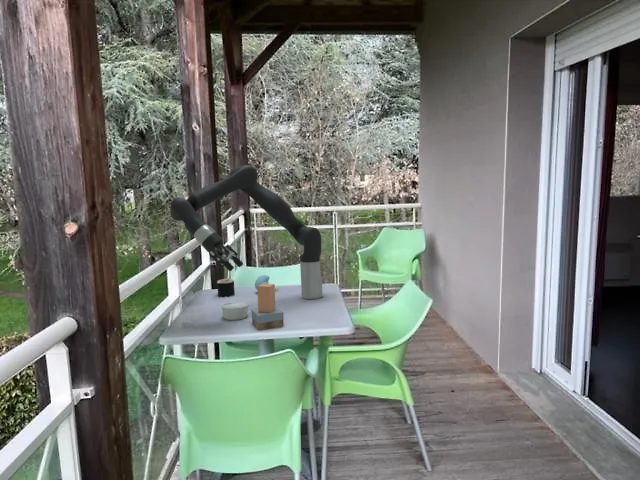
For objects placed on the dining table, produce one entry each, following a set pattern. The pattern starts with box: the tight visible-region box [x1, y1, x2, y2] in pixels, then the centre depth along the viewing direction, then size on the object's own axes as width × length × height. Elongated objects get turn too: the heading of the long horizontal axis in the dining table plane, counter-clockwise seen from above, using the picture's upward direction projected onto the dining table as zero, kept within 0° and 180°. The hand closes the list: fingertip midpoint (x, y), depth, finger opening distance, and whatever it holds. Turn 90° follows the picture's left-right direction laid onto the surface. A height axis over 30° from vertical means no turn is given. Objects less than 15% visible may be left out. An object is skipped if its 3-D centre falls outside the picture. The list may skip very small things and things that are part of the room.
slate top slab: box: [251, 305, 285, 323], centre depth 193 cm, size 10×10×3 cm
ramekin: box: [221, 301, 249, 321], centre depth 206 cm, size 11×11×5 cm
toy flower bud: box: [254, 274, 280, 292], centre depth 249 cm, size 7×9×12 cm
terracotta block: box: [256, 283, 276, 312], centre depth 193 cm, size 5×5×10 cm
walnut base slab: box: [251, 317, 285, 331], centre depth 194 cm, size 10×10×3 cm
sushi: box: [216, 278, 235, 298], centre depth 246 cm, size 8×8×8 cm
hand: (236, 267), depth 194 cm, fingers open, 8 cm apart
